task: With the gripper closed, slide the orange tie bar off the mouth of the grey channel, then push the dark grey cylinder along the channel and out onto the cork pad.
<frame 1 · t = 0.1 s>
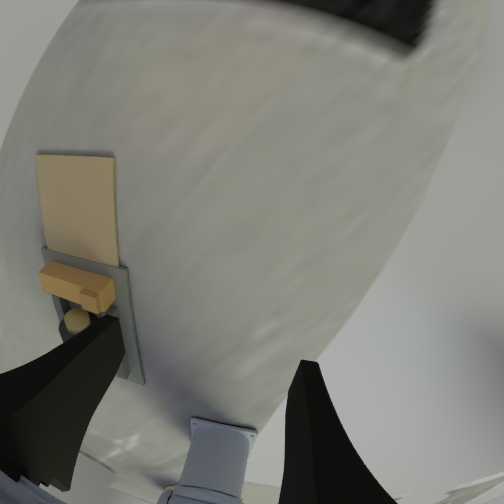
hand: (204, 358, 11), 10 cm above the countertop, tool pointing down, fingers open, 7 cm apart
board: (88, 294, 24), on the countertop
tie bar: (73, 286, 21), point 2 cm above the countertop, slide at 0.0 cm
dark grey cylinder: (95, 335, 26), resting on board
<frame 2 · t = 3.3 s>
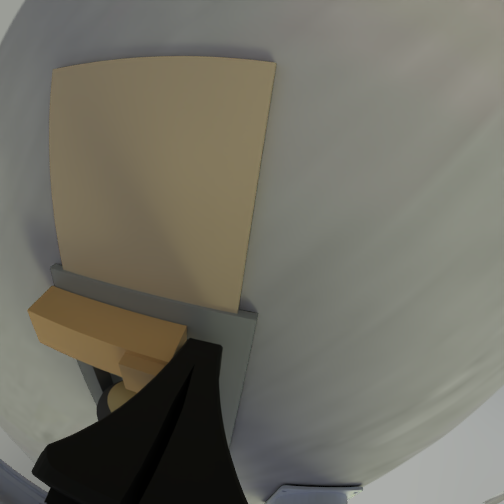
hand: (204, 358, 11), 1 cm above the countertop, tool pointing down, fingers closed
board: (148, 353, 13), on the countertop
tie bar: (99, 341, 11), point 2 cm above the countertop, slide at 1.4 cm, touching gripper
dark grey cylinder: (155, 410, 15), resting on board
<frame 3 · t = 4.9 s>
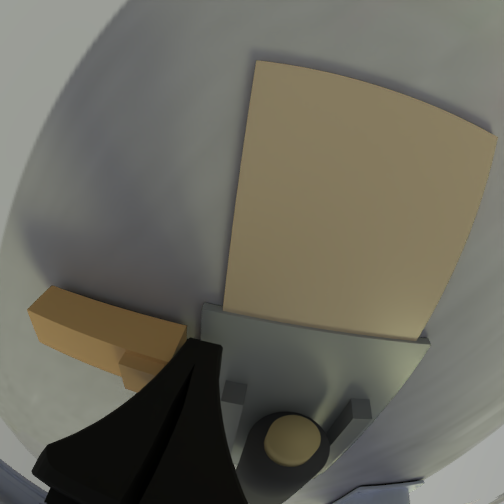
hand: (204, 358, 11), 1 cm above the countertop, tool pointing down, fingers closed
board: (301, 386, 13), on the countertop
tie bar: (99, 341, 11), point 2 cm above the countertop, slide at 8.8 cm, touching gripper
dark grey cylinder: (278, 437, 15), resting on board
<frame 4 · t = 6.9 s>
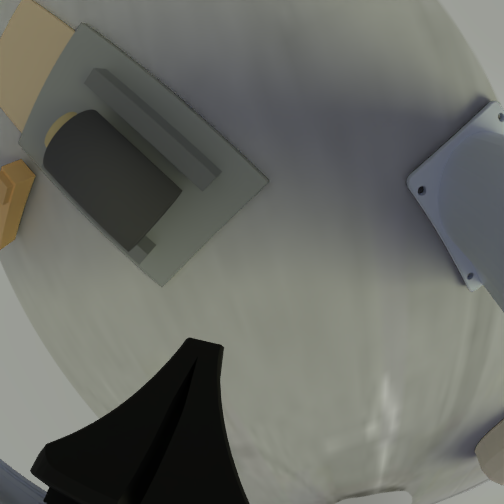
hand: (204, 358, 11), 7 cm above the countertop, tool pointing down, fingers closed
board: (79, 117, 14), on the countertop
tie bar: (5, 208, 16), point 2 cm above the countertop, slide at 9.0 cm
dark grey cylinder: (129, 169, 15), resting on board
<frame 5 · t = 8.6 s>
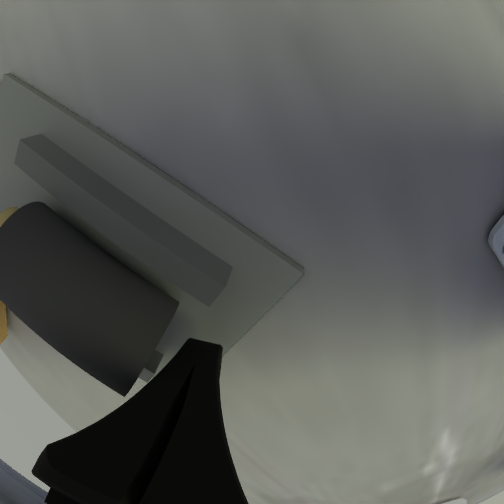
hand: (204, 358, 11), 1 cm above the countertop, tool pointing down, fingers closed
board: (30, 201, 10), on the countertop
dark grey cylinder: (103, 269, 11), resting on board, touching gripper
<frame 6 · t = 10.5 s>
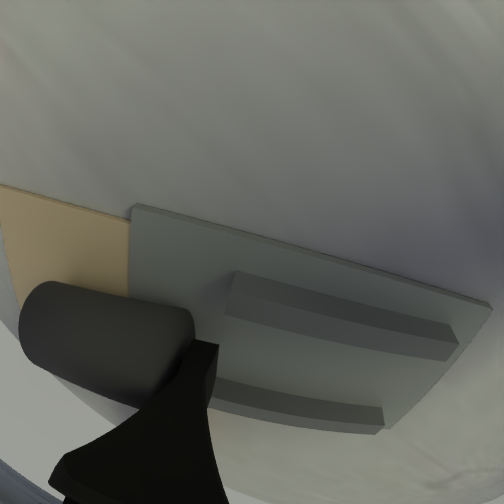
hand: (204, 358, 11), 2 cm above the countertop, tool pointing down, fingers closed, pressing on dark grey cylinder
board: (221, 333, 12), on the countertop
dark grey cylinder: (127, 320, 12), resting on board, tilted 11°, touching gripper
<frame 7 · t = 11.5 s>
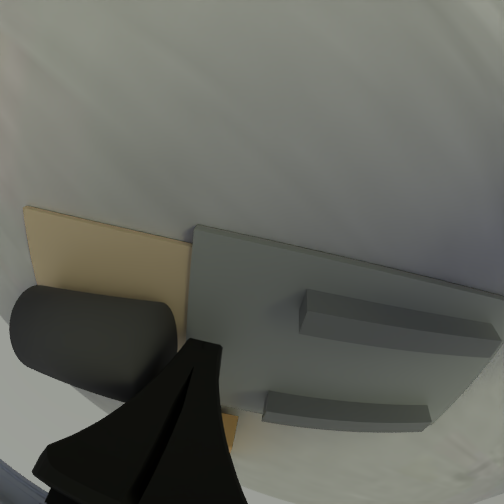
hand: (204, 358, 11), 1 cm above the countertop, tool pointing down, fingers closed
board: (282, 349, 12), on the countertop
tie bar: (210, 454, 15), point 2 cm above the countertop, slide at 9.0 cm
dark grey cylinder: (113, 320, 12), resting on board, tilted 13°, touching gripper
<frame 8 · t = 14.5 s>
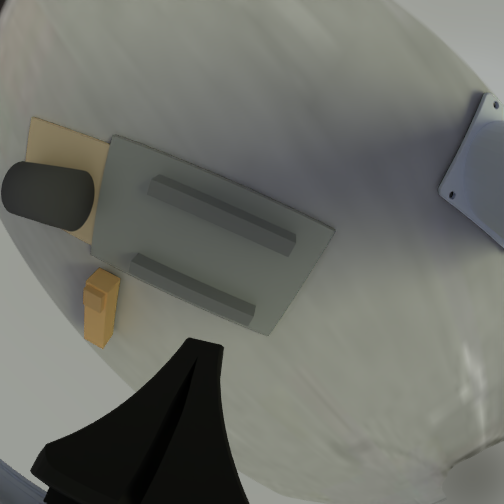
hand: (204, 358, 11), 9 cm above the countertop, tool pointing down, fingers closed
board: (148, 220, 19), on the countertop
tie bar: (98, 313, 22), point 2 cm above the countertop, slide at 9.0 cm
dark grey cylinder: (62, 191, 19), resting on board, tilted 13°
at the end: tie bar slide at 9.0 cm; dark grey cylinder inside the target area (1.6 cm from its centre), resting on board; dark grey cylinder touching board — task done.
